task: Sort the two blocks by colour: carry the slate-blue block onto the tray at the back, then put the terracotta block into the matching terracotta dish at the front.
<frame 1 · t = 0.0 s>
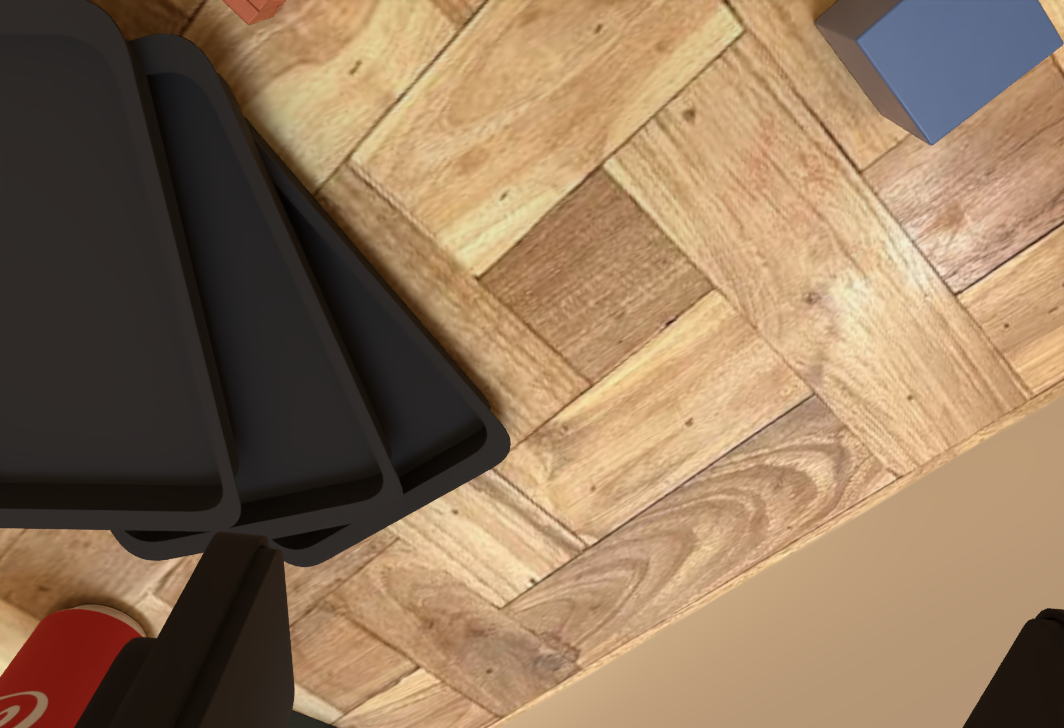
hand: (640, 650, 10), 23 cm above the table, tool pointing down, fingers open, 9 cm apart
tray: (160, 306, 33), on the table
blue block: (903, 23, 27), on the table
beverage can: (106, 631, 44), on the table
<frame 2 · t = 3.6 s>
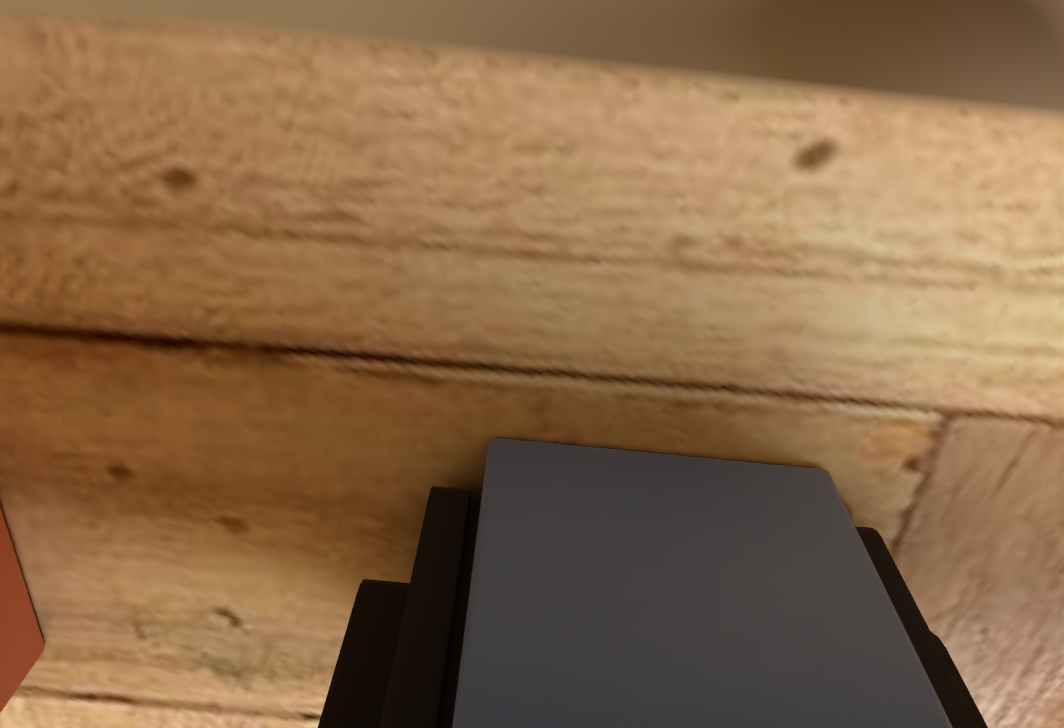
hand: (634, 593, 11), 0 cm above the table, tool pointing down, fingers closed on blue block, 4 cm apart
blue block: (632, 574, 11), on the table, touching gripper
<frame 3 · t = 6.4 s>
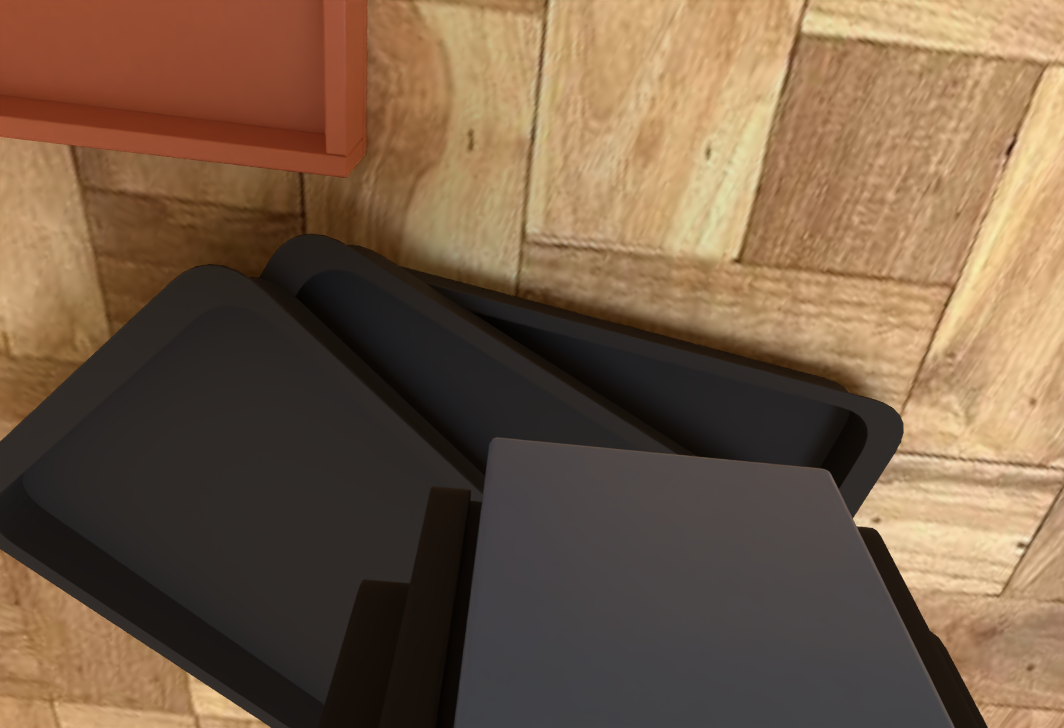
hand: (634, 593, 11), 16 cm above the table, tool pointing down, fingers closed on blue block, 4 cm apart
tray: (453, 493, 30), on the table
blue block: (633, 574, 11), point 15 cm above the table, touching gripper
when the fingers open (6 cm above the table, at t = 9.7 s): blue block stays where it is, resting on tray.
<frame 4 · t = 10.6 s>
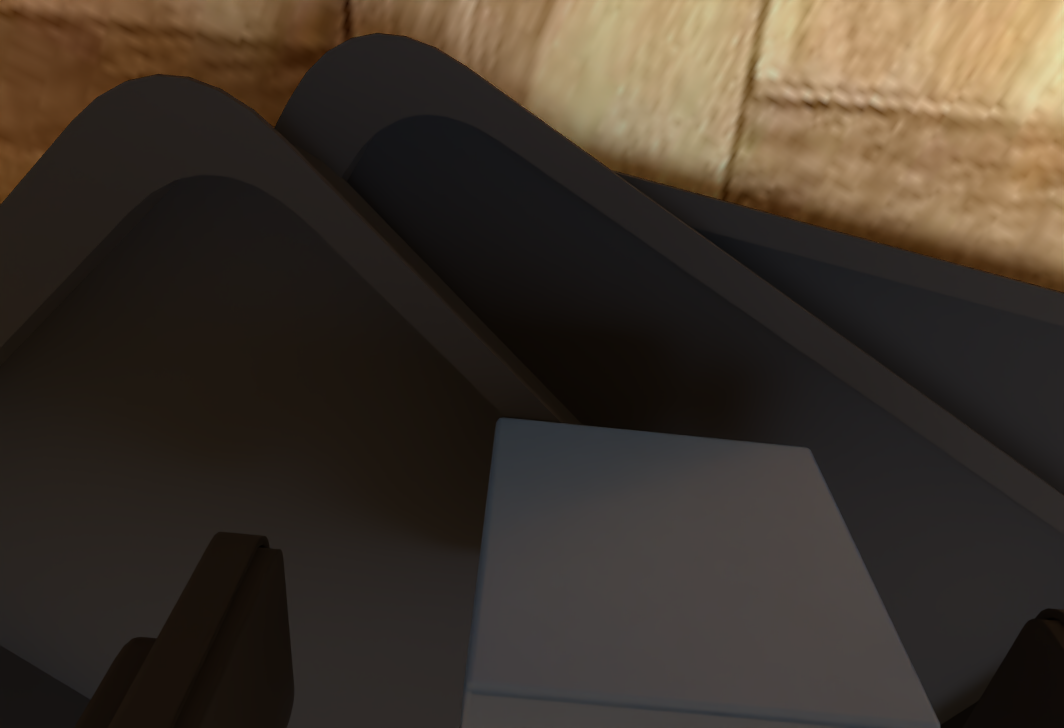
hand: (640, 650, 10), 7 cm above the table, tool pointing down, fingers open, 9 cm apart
tray: (579, 540, 19), on the table, touching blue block
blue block: (629, 547, 12), point 5 cm above the table, touching tray
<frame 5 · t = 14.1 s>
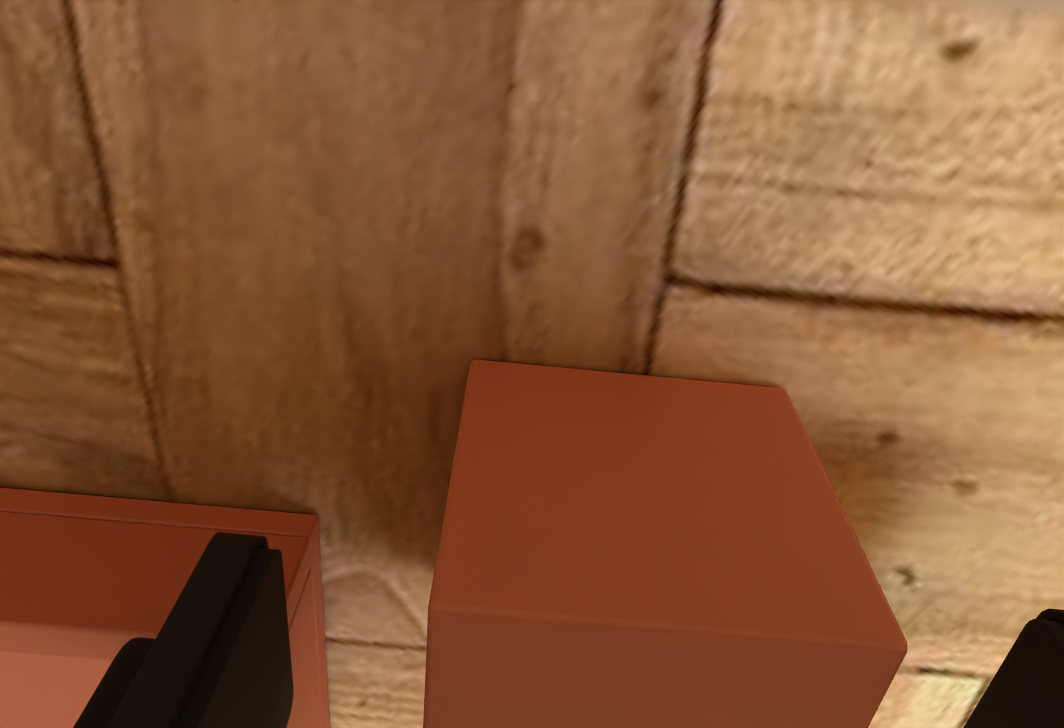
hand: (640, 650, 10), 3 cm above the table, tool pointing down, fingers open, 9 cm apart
terracotta block: (606, 493, 12), on the table
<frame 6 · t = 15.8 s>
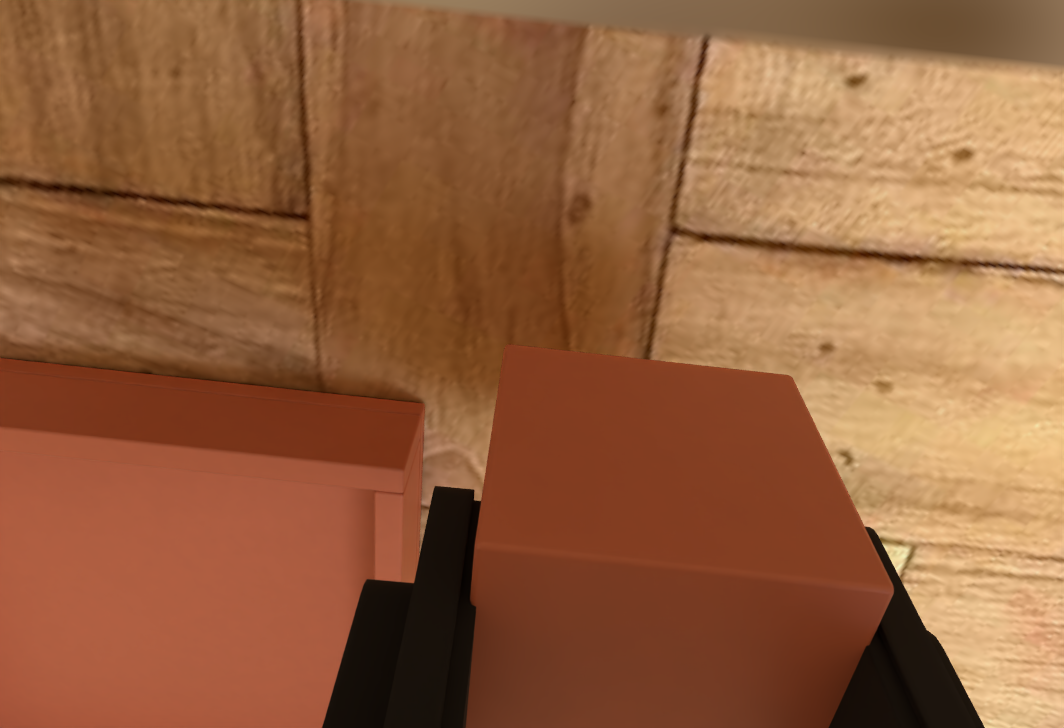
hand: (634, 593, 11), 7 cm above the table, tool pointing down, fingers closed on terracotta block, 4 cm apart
terracotta block: (625, 472, 13), point 4 cm above the table, touching gripper
dish: (168, 603, 21), on the table
when the fingers open (3 cm above the table, at t = 20.7 s): terracotta block stays where it is, resting on dish.
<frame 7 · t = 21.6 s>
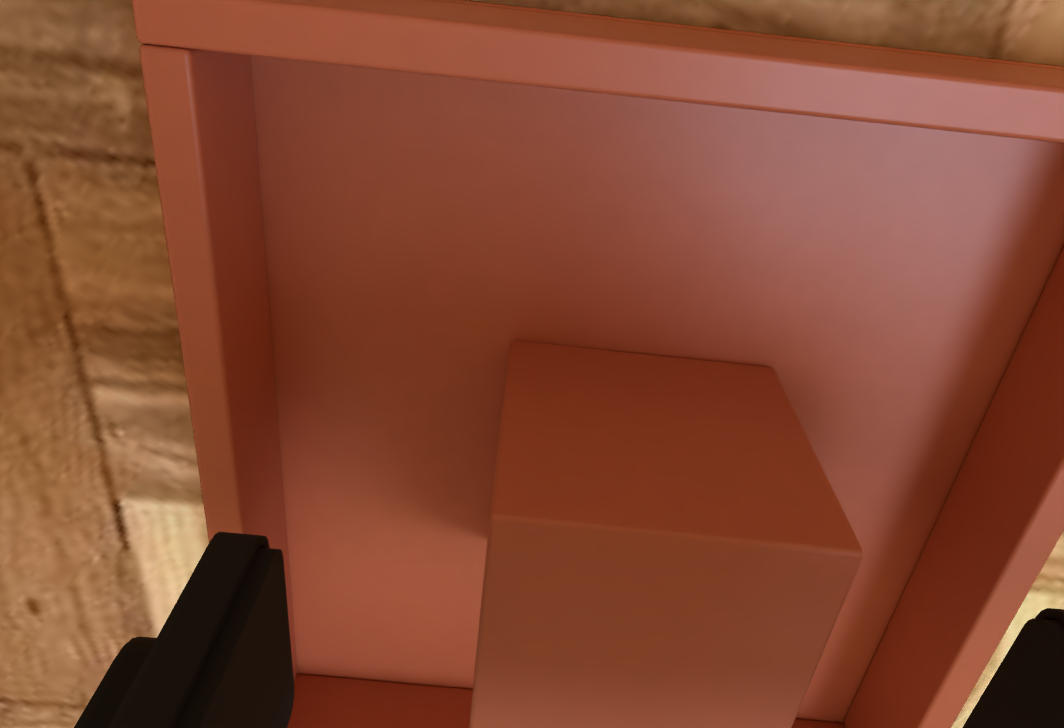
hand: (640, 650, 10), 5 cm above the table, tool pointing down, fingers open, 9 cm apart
terracotta block: (622, 459, 14), resting on dish
dish: (615, 442, 14), on the table
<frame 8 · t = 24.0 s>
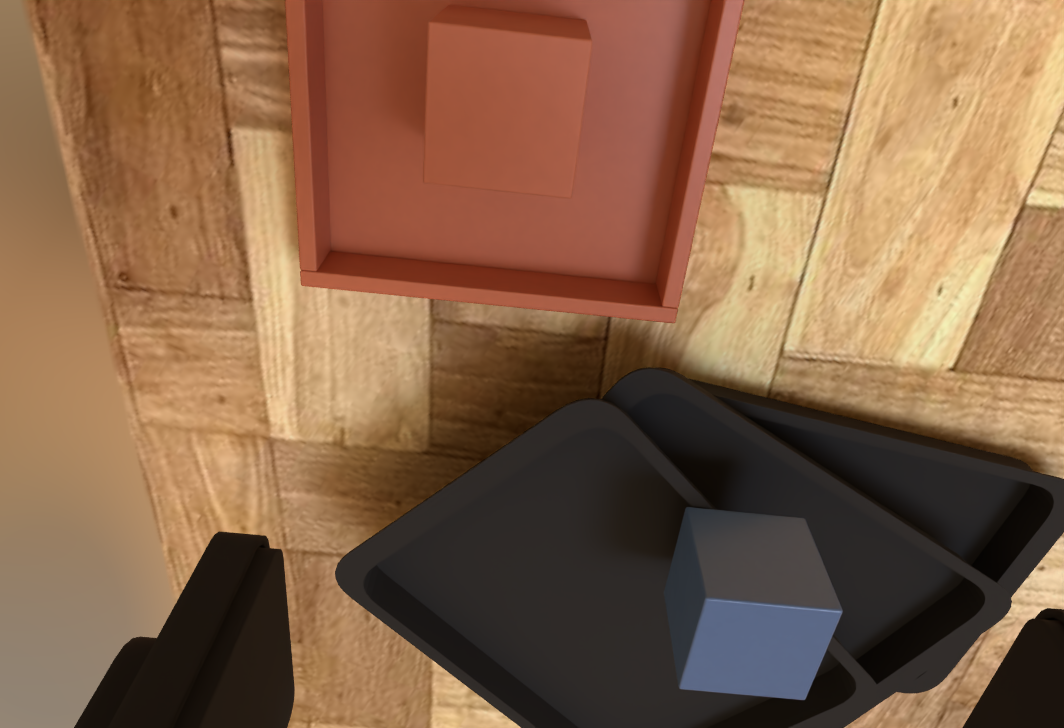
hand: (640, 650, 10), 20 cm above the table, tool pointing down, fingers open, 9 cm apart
terracotta block: (511, 84, 25), resting on dish
dish: (509, 81, 26), on the table
tray: (687, 549, 36), on the table, touching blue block
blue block: (731, 556, 29), point 5 cm above the table, touching tray
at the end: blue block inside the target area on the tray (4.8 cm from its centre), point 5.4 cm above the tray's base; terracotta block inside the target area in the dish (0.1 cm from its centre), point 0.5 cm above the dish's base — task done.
